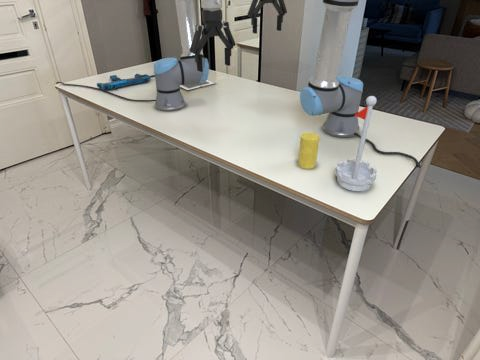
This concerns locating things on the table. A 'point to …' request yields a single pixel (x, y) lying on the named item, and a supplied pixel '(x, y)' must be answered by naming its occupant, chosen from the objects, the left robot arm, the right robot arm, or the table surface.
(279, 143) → the table surface
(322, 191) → the table surface
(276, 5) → the right robot arm
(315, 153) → the canister
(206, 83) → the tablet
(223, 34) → the left robot arm
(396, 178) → the table surface
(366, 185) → the flag stand
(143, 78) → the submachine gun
